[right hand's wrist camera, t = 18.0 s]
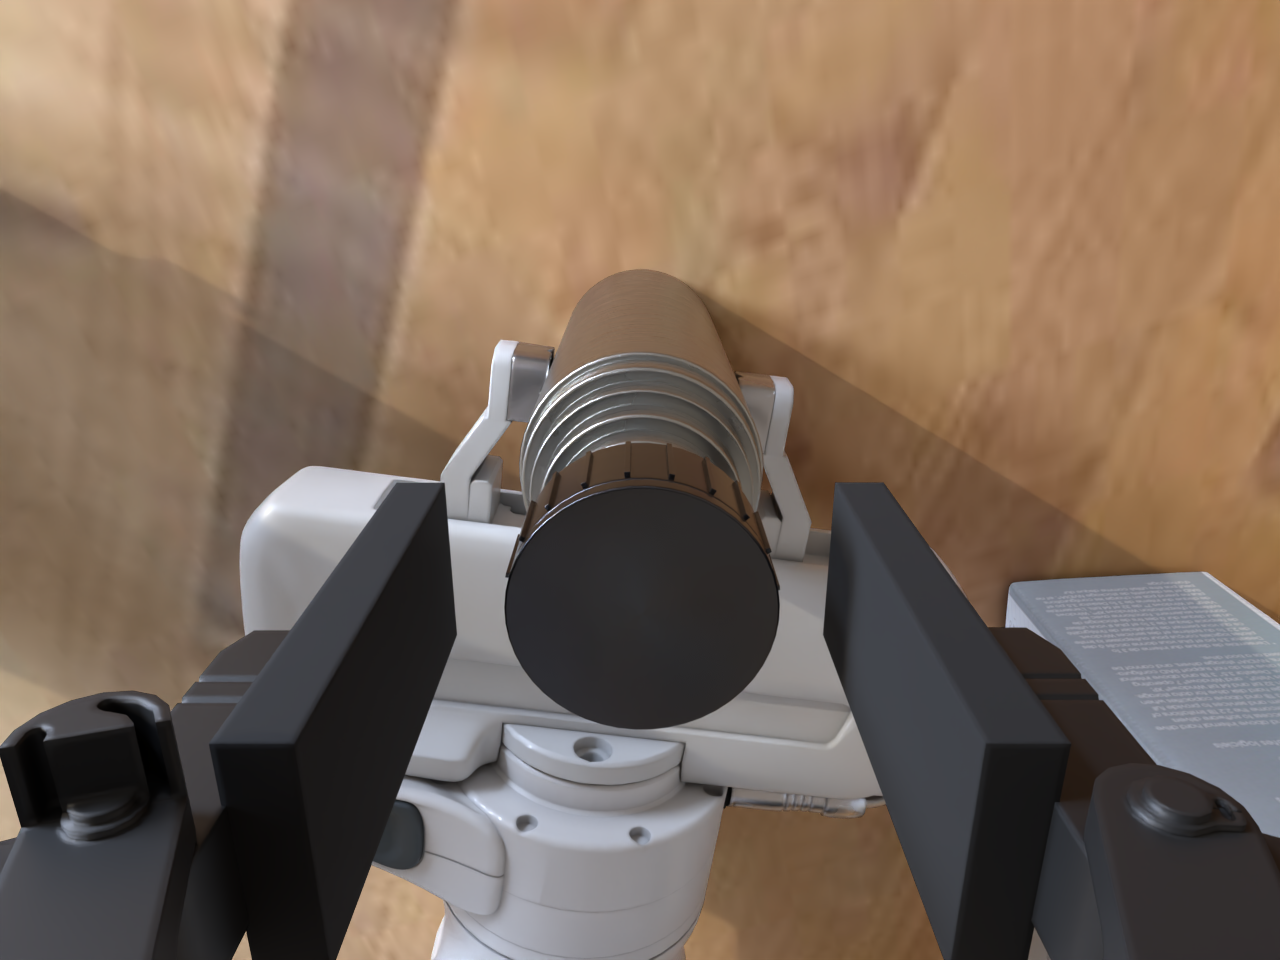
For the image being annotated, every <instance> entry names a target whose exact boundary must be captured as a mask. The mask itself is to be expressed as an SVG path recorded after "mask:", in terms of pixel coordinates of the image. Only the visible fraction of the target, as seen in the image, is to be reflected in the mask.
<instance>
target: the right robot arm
mask: <svg viewBox="0 0 1280 960" xmlns="http://www.w3.org/2000/svg"><path fill="white" fill-rule="evenodd" d="M456 636H457V627H456V615H455V603H454V590H453V578H452V566H451V553H450V541H449V529H448V516H447V504H446V492H445V483H396V484H395V485H394V487H393V488H392V490H391V491H390V492H389V494H388V495H387V497H386V498H385V499H384V501H383V502H382V503H381V505H380V506H379V508H378V509H377V510H376V512H375V513H374V515H373V516H372V517H371V519H370V520H369V522H368V523H367V524H366V526H365V527H364V528H363V530H362V531H361V533H360V534H359V535H358V537H357V538H356V540H355V541H354V542H353V544H352V545H351V547H350V548H349V549H348V551H347V552H346V554H345V555H344V556H343V558H342V559H341V560H340V562H339V563H338V565H337V566H336V567H335V569H334V570H333V572H332V573H331V574H330V576H329V577H328V579H327V580H326V581H325V583H324V584H323V585H322V587H321V588H320V590H319V591H318V592H317V594H316V595H315V597H314V598H313V599H312V601H311V602H310V604H309V605H308V606H307V608H306V609H305V610H304V612H303V613H302V615H301V616H300V617H299V619H298V620H297V622H296V623H295V624H294V626H293V627H292V629H291V630H254V631H252V632H251V633H249V634H248V635H246V636H244V637H243V638H241V639H240V640H238V641H237V642H235V643H233V644H232V645H230V646H229V647H227V648H225V649H224V650H222V651H221V652H220V653H219V654H218V655H217V656H216V658H215V659H214V660H213V661H212V662H211V664H210V665H209V666H208V667H207V668H206V670H205V671H204V672H203V673H202V674H201V676H200V677H199V678H200V679H199V682H195V683H194V684H193V685H192V687H191V688H190V689H189V690H188V691H187V693H186V694H185V695H184V696H183V697H182V703H177V705H176V706H175V707H174V708H173V710H172V711H171V712H170V708H169V705H168V704H167V703H165V702H164V701H163V700H161V699H160V698H159V697H157V696H156V695H153V694H147V693H142V692H137V691H120V692H104V693H100V694H95V695H91V696H87V697H83V698H79V699H75V700H71V701H69V702H66V703H64V704H61V705H59V706H57V707H54V708H52V709H49V710H47V711H45V712H42V713H40V714H38V715H37V716H35V717H34V718H32V719H31V720H29V721H28V722H26V723H25V724H23V725H22V726H20V727H18V728H17V729H15V730H14V731H13V732H12V733H11V734H10V736H9V737H8V738H7V739H6V740H5V741H4V742H3V744H2V745H1V746H0V758H1V761H2V765H3V768H4V771H5V775H6V778H7V781H8V785H9V788H10V791H11V795H12V798H13V801H14V805H15V808H16V811H17V815H18V818H19V821H20V825H21V829H20V832H19V834H18V836H17V837H16V838H12V839H9V840H5V841H1V842H0V960H232V958H233V956H234V954H235V952H236V950H237V948H238V946H239V944H240V942H241V940H242V938H243V936H244V934H245V932H247V937H248V942H249V947H250V952H251V957H252V960H336V958H337V956H338V953H339V950H340V948H341V945H342V942H343V940H344V937H345V934H346V932H347V929H348V926H349V924H350V921H351V918H352V915H353V913H354V910H355V907H356V905H357V902H358V899H359V897H360V894H361V891H362V889H363V886H364V883H365V881H366V878H367V875H368V873H369V870H370V867H371V864H372V862H373V859H374V856H375V854H376V851H377V848H378V846H379V843H380V840H381V838H382V835H383V832H384V830H385V827H386V824H387V822H388V819H389V816H390V814H391V811H392V808H393V805H394V803H395V800H396V797H397V795H398V792H399V789H400V787H401V784H402V781H403V779H404V776H405V773H406V771H407V768H408V765H409V763H410V760H411V757H412V754H413V752H414V749H415V746H416V744H417V741H418V738H419V736H420V733H421V730H422V728H423V725H424V722H425V720H426V717H427V714H428V712H429V709H430V706H431V704H432V701H433V698H434V695H435V693H436V690H437V687H438V685H439V682H440V679H441V677H442V674H443V671H444V669H445V666H446V663H447V661H448V658H449V655H450V653H451V650H452V647H453V644H454V642H455V639H456ZM823 636H824V639H825V642H826V645H827V647H828V650H829V653H830V655H831V658H832V661H833V663H834V666H835V669H836V671H837V674H838V677H839V679H840V682H841V685H842V687H843V690H844V693H845V696H846V698H847V701H848V704H849V706H850V709H851V712H852V714H853V717H854V720H855V722H856V725H857V728H858V730H859V733H860V736H861V738H862V741H863V744H864V746H865V749H866V752H867V755H868V757H869V760H870V763H871V765H872V768H873V771H874V773H875V776H876V779H877V781H878V784H879V787H880V789H881V792H882V795H883V797H884V800H885V803H886V806H887V808H888V811H889V814H890V816H891V819H892V822H893V824H894V827H895V830H896V832H897V835H898V838H899V840H900V843H901V846H902V848H903V851H904V854H905V856H906V859H907V862H908V865H909V867H910V870H911V873H912V875H913V878H914V881H915V883H916V886H917V889H918V891H919V894H920V897H921V899H922V902H923V905H924V907H925V910H926V913H927V916H928V918H929V921H930V924H931V926H932V929H933V932H934V934H935V937H936V940H937V942H938V945H939V948H940V950H941V953H942V956H943V958H944V960H1028V956H1029V951H1030V946H1031V942H1032V937H1033V932H1034V927H1035V929H1036V931H1037V933H1038V935H1039V937H1040V939H1041V941H1042V943H1043V945H1044V947H1045V949H1046V951H1047V953H1048V955H1049V957H1050V959H1051V960H1280V838H1279V837H1275V836H1271V835H1268V834H1264V833H1262V832H1261V830H1260V828H1259V826H1258V825H1257V823H1256V822H1255V821H1254V819H1253V818H1252V817H1251V815H1250V814H1249V812H1248V811H1247V810H1246V808H1245V807H1244V806H1243V805H1242V804H1240V803H1239V802H1238V801H1236V800H1235V799H1234V798H1232V797H1231V796H1230V795H1228V794H1227V793H1226V792H1224V791H1223V790H1222V789H1220V788H1219V787H1217V786H1215V785H1213V784H1210V783H1208V782H1206V781H1204V780H1202V779H1200V778H1198V777H1196V776H1194V775H1192V774H1190V773H1186V772H1182V771H1179V770H1175V769H1172V768H1168V767H1164V766H1161V765H1157V764H1156V763H1155V762H1154V761H1153V760H1152V758H1151V757H1150V756H1149V755H1148V754H1147V752H1146V751H1145V750H1144V749H1143V748H1142V746H1141V745H1140V744H1139V743H1138V742H1137V740H1136V739H1135V738H1134V737H1133V736H1132V734H1131V733H1130V732H1129V731H1128V730H1127V728H1126V727H1125V726H1124V725H1123V724H1122V722H1121V721H1120V720H1119V719H1118V718H1117V716H1116V715H1115V714H1114V713H1113V712H1112V710H1111V709H1110V708H1109V707H1108V706H1107V704H1106V703H1105V702H1104V701H1103V700H1099V698H1098V694H1097V692H1096V691H1095V690H1094V689H1093V688H1092V686H1091V685H1090V684H1089V683H1088V681H1087V680H1086V679H1082V678H1081V673H1080V672H1079V671H1078V669H1077V668H1076V667H1075V666H1074V665H1073V663H1072V662H1071V661H1070V660H1069V659H1068V657H1067V656H1066V655H1065V654H1064V653H1063V651H1062V650H1061V649H1060V648H1058V647H1057V646H1055V645H1053V644H1052V643H1050V642H1049V641H1047V640H1045V639H1044V638H1042V637H1041V636H1039V635H1037V634H1036V633H1034V632H1033V631H1031V630H1029V629H1028V628H1026V627H987V626H986V624H985V623H984V622H983V620H982V619H981V617H980V616H979V615H978V613H977V612H976V611H975V609H974V608H973V606H972V605H971V604H970V602H969V601H968V599H967V598H966V597H965V595H964V594H963V592H962V591H961V590H960V588H959V587H958V586H957V584H956V583H955V581H954V580H953V579H952V577H951V576H950V574H949V573H948V572H947V570H946V569H945V567H944V566H943V565H942V563H941V562H940V560H939V559H938V558H937V556H936V555H935V554H934V552H933V551H932V549H931V548H930V547H929V545H928V544H927V542H926V541H925V540H924V538H923V537H922V535H921V534H920V533H919V531H918V530H917V529H916V527H915V526H914V524H913V523H912V522H911V520H910V519H909V517H908V516H907V515H906V513H905V512H904V510H903V509H902V508H901V506H900V505H899V503H898V502H897V501H896V499H895V498H894V497H893V495H892V494H891V492H890V491H889V490H888V488H887V487H886V485H885V484H884V483H835V491H834V504H833V516H832V528H831V541H830V553H829V565H828V578H827V590H826V602H825V615H824V627H823Z"/></svg>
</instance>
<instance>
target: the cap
mask: <svg viewBox="0 0 1280 960" xmlns="http://www.w3.org/2000/svg"><path fill="white" fill-rule="evenodd" d="M771 552H772V551H771V548H770V545H769V542H768V539H767V535H766V532H765V529H764V526H763V523H762V520H761V517H760V514H759V512H758V511H756V512H754V510H753V507H752V506H751V504H750V502H749V501H748V499H747V497H746V496H745V494H744V493H743V491H742V489H741V485H740V483H739V482H738V481H737V480H736V481H735V482H734V481H733V480H732V479H731V478H730V477H729V476H728V475H727V474H726V473H725V472H724V471H722V470H721V469H720V468H718V467H717V466H715V465H714V464H713V463H711V462H710V459H709V458H708V457H706V456H705V457H704V458H702V457H700V456H698V455H697V454H694V453H691V452H689V451H686V450H684V449H681V448H677V447H672V444H670V443H667V444H666V445H663V444H654V443H631V441H626V442H625V444H621V445H615V446H611V447H607V448H604V449H600V450H597V451H595V452H591V451H588V452H586V455H585V456H583V457H581V458H580V459H578V460H576V461H574V462H573V463H571V464H569V465H568V466H567V467H565V468H564V469H563V470H562V471H560V472H559V473H558V472H557V471H556V472H555V473H553V476H552V480H551V481H550V482H549V483H548V484H547V485H546V486H545V487H544V489H543V490H542V491H541V492H540V494H539V495H538V496H537V498H536V500H535V501H533V500H531V501H530V503H529V506H528V509H527V513H526V516H525V519H524V522H523V526H522V529H521V532H520V534H518V536H517V539H516V542H515V545H514V549H513V552H512V555H511V558H510V561H509V565H508V568H507V571H506V575H505V577H506V578H508V582H507V586H506V591H505V603H504V612H505V624H506V628H507V633H508V637H509V641H510V643H511V646H512V648H513V651H514V654H515V656H516V657H517V659H518V661H519V663H520V665H521V666H522V668H523V670H524V671H525V672H526V674H527V675H528V676H529V678H530V679H531V680H532V682H533V683H534V684H535V685H536V686H537V687H538V688H539V689H540V690H541V691H542V692H543V693H544V694H545V695H547V696H548V697H549V698H550V699H552V700H553V701H554V702H555V703H557V704H558V705H560V706H561V707H563V708H565V709H566V710H568V711H569V712H571V713H573V714H576V715H578V716H580V717H582V718H584V719H587V720H590V721H593V722H596V723H599V724H602V725H606V726H611V727H616V728H623V729H633V730H652V729H661V728H669V727H673V726H677V725H682V724H686V723H689V722H691V721H694V720H697V719H700V718H702V717H704V716H706V715H708V714H710V713H712V712H714V711H716V710H718V709H719V708H721V707H722V706H724V705H726V704H727V703H729V702H730V701H731V700H733V699H734V698H735V697H736V696H737V695H738V694H740V693H741V692H742V691H743V690H744V689H745V688H746V687H747V686H748V685H749V684H750V682H751V681H752V680H753V679H754V678H755V676H756V675H757V674H758V672H759V671H760V669H761V668H762V667H763V665H764V663H765V661H766V659H767V657H768V655H769V653H770V651H771V649H772V646H773V643H774V640H775V638H776V634H777V629H778V624H779V613H780V600H779V590H780V585H779V582H778V578H777V575H776V572H775V569H774V566H773V563H772V560H771V556H770V553H771Z"/></svg>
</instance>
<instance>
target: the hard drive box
mask: <svg viewBox="0 0 1280 960" xmlns="http://www.w3.org/2000/svg"><path fill="white" fill-rule="evenodd" d="M1006 627H1026V628H1028V629H1029V630H1031V631H1033V632H1034V633H1036V634H1037V635H1039V636H1041V637H1042V638H1044V639H1045V640H1047V641H1049V642H1050V643H1052V644H1053V645H1055V646H1057V647H1058V648H1060V649H1061V650H1062V651H1063V653H1064V654H1065V655H1066V656H1067V657H1068V659H1069V660H1070V661H1071V662H1072V663H1073V665H1074V666H1075V667H1076V668H1077V669H1078V671H1079V672H1080V673H1081V678H1082V679H1086V680H1087V681H1088V683H1089V684H1090V685H1091V686H1092V688H1093V689H1094V690H1095V691H1096V692H1097V694H1098V698H1099V700H1103V701H1104V702H1105V703H1106V704H1107V706H1108V707H1109V708H1110V709H1111V710H1112V712H1113V713H1114V714H1115V715H1116V716H1117V718H1118V719H1119V720H1120V721H1121V722H1122V724H1123V725H1124V726H1125V727H1126V728H1127V730H1128V731H1129V732H1130V733H1131V734H1132V736H1133V737H1134V738H1135V739H1136V740H1137V742H1138V743H1139V744H1140V745H1141V746H1142V748H1143V749H1144V750H1145V751H1146V752H1147V754H1148V755H1149V756H1150V757H1151V758H1152V760H1153V761H1154V762H1155V763H1156V764H1157V765H1161V766H1164V767H1168V768H1172V769H1175V770H1179V771H1182V772H1186V773H1190V774H1192V775H1194V776H1196V777H1198V778H1200V779H1202V780H1204V781H1206V782H1208V783H1210V784H1213V785H1215V786H1217V787H1219V788H1220V789H1222V790H1223V791H1224V792H1226V793H1227V794H1228V795H1230V796H1231V797H1232V798H1234V799H1235V800H1236V801H1238V802H1239V803H1240V804H1242V805H1243V806H1244V807H1245V808H1246V810H1247V811H1248V812H1249V814H1250V815H1251V817H1252V818H1253V819H1254V821H1255V822H1256V823H1257V825H1258V826H1259V828H1260V830H1261V832H1262V833H1264V834H1268V835H1271V836H1275V837H1279V838H1280V624H1278V623H1277V622H1276V621H1274V620H1273V619H1272V618H1270V617H1269V616H1268V615H1266V614H1265V613H1263V612H1262V611H1260V610H1259V609H1258V608H1256V607H1255V606H1253V605H1252V604H1251V603H1249V602H1248V601H1246V600H1245V599H1244V598H1242V597H1241V596H1240V595H1238V594H1237V593H1235V592H1234V591H1233V590H1231V589H1230V588H1228V587H1227V586H1226V585H1224V584H1223V583H1222V582H1220V581H1219V580H1217V579H1216V578H1215V577H1213V576H1212V575H1210V574H1209V573H1207V572H1181V573H1163V574H1143V575H1122V576H1106V577H1087V578H1068V579H1052V580H1039V581H1024V582H1014V583H1012V584H1011V585H1010V587H1009V594H1008V604H1007V614H1006ZM1028 960H1051V959H1050V957H1049V955H1048V953H1047V951H1046V949H1045V947H1044V945H1043V943H1042V941H1041V939H1040V937H1039V935H1038V933H1037V931H1036V929H1035V927H1034V932H1033V937H1032V942H1031V946H1030V951H1029V956H1028Z"/></svg>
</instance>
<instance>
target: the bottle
mask: <svg viewBox="0 0 1280 960" xmlns="http://www.w3.org/2000/svg"><path fill="white" fill-rule="evenodd" d="M626 441H631V443H654V444H663V445H666V444H667V443H670V444H672V447H677V448H681V449H684V450H686V451H689V452H691V453H694V454H697V455H698V456H700V457H702V458H704V457H705V456H706V457H708V458H709V459H710V462H711V463H713V464H714V465H715V466H717V467H718V468H720V469H721V470H722V471H724V472H725V473H726V474H727V475H728V476H729V477H730V478H731V479H732V480H733V481H734V482H735V481H736V480H737V481H738V482H739V483H740V485H741V489H742V491H743V493H744V494H745V496H746V497H747V499H748V501H749V502H750V504H751V506H752V507H753V510H754V512H756V510H757V508H758V503H759V499H760V494H761V485H762V480H763V453H762V447H761V442H760V438H759V434H758V431H757V429H756V426H755V423H754V421H753V418H752V416H751V413H750V411H749V408H748V406H747V404H746V401H745V399H744V396H743V394H742V391H741V389H740V387H739V384H738V382H737V379H736V377H735V375H734V372H733V370H732V367H731V365H730V362H729V360H728V358H727V355H726V353H725V350H724V348H723V345H722V343H721V341H720V338H719V336H718V333H717V331H716V328H715V326H714V324H713V321H712V319H711V316H710V314H709V312H708V310H707V308H706V306H705V304H704V303H703V302H702V300H701V299H700V298H699V296H698V295H697V294H696V293H695V292H694V291H693V290H692V289H691V288H690V287H688V286H687V285H686V284H685V283H683V282H682V281H680V280H678V279H677V278H675V277H672V276H670V275H668V274H665V273H662V272H658V271H653V270H628V271H623V272H620V273H616V274H614V275H611V276H609V277H607V278H605V279H603V280H601V281H600V282H598V283H597V284H596V285H594V286H593V287H592V288H590V289H589V290H588V291H587V292H586V293H585V294H584V295H583V297H582V298H581V299H580V301H579V302H578V303H577V305H576V307H575V309H574V311H573V312H572V315H571V317H570V320H569V322H568V325H567V328H566V330H565V333H564V335H563V338H562V340H561V343H560V345H559V348H558V350H557V353H556V355H555V358H554V360H553V363H552V365H551V368H550V370H549V373H548V375H547V378H546V380H545V383H544V385H543V388H542V390H541V393H540V395H539V398H538V400H537V403H536V405H535V408H534V410H533V413H532V415H531V418H530V420H529V423H528V425H527V428H526V430H525V433H524V437H523V441H522V445H521V451H520V460H519V469H520V481H521V487H522V494H523V500H524V505H525V508H526V511H527V509H528V506H529V503H530V501H531V500H533V501H535V500H536V498H537V496H538V495H539V494H540V492H541V491H542V490H543V489H544V487H545V486H546V485H547V484H548V483H549V482H550V481H551V480H552V476H553V473H555V472H556V471H557V472H558V473H559V472H560V471H562V470H563V469H564V468H565V467H567V466H568V465H569V464H571V463H573V462H574V461H576V460H578V459H580V458H581V457H583V456H585V455H586V452H588V451H591V452H595V451H597V450H600V449H604V448H607V447H611V446H615V445H621V444H625V442H626Z"/></svg>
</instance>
